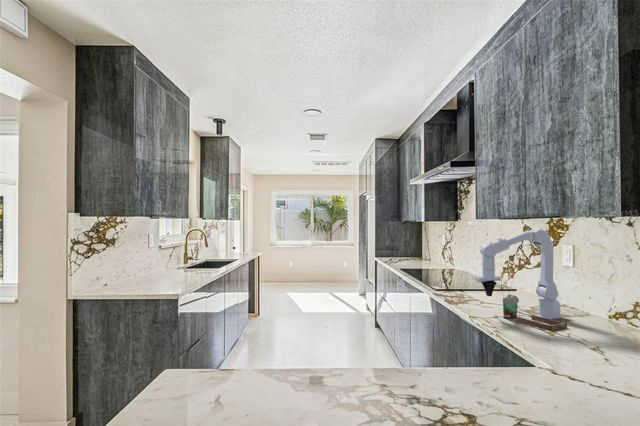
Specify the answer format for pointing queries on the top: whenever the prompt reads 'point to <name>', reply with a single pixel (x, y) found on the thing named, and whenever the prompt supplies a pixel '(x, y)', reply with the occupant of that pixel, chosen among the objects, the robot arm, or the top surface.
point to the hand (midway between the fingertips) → (489, 295)
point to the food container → (510, 307)
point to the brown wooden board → (554, 326)
